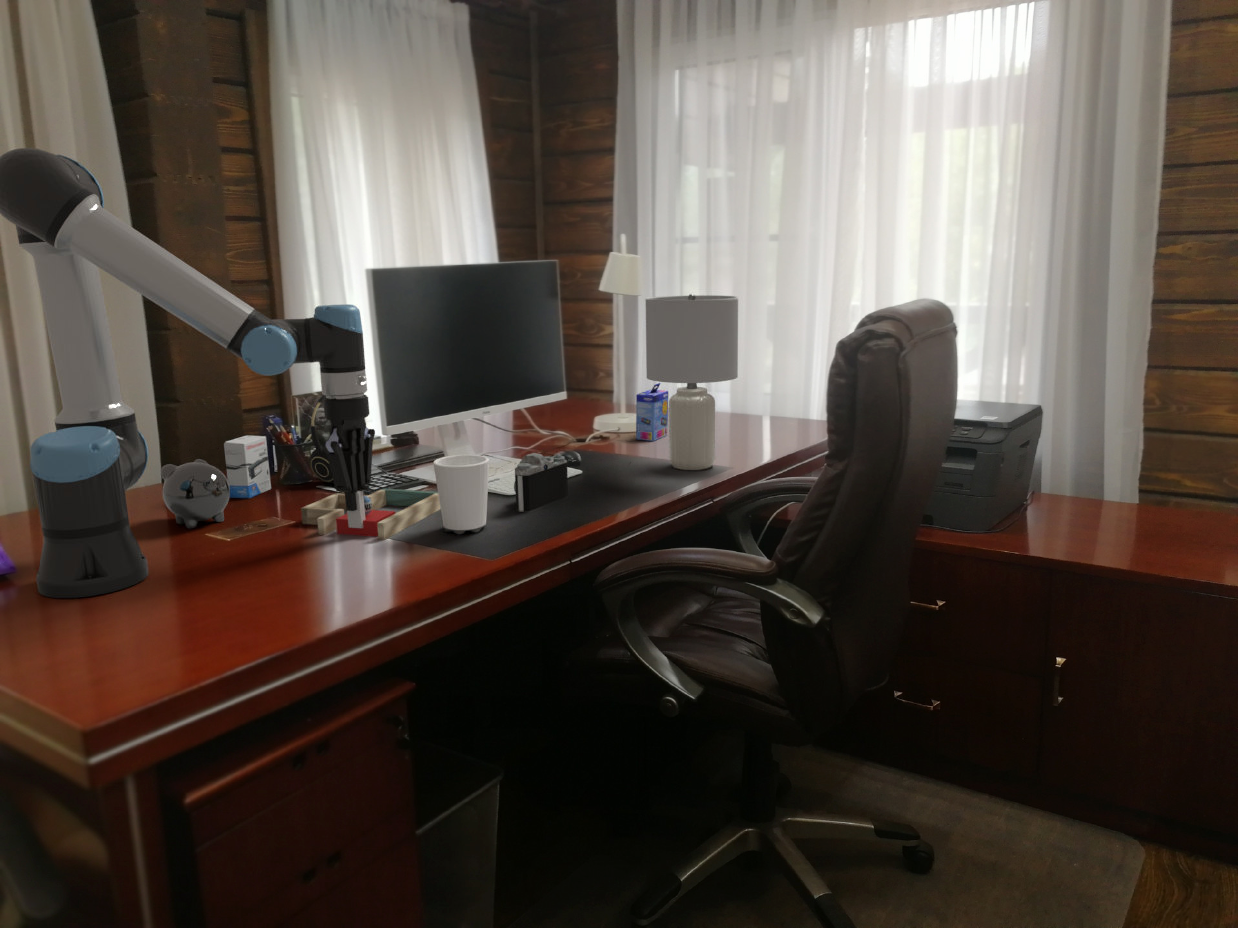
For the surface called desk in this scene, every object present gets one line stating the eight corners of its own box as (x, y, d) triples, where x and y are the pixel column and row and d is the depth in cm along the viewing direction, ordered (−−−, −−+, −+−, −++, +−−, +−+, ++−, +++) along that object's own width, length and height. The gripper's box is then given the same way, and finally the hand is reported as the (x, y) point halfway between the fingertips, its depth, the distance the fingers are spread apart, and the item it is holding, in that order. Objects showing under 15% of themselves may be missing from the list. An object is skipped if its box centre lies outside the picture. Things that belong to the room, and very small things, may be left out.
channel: (384, 539, 165) (383, 523, 165) (284, 531, 172) (282, 515, 171) (444, 507, 186) (443, 492, 185) (353, 500, 192) (352, 486, 191)
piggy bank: (210, 509, 188) (203, 452, 185) (246, 522, 178) (240, 463, 175) (152, 521, 180) (144, 462, 177) (187, 536, 170) (179, 474, 167)
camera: (545, 492, 196) (543, 445, 194) (572, 496, 193) (570, 448, 190) (500, 509, 184) (497, 458, 182) (527, 513, 180) (525, 462, 178)
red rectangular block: (396, 526, 174) (393, 492, 172) (376, 536, 167) (373, 502, 166) (358, 523, 176) (355, 490, 175) (337, 533, 170) (334, 499, 168)
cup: (432, 525, 174) (428, 457, 171) (485, 518, 177) (482, 452, 174) (442, 539, 165) (438, 468, 162) (498, 533, 168) (494, 463, 165)
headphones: (302, 486, 206) (293, 394, 201) (348, 471, 219) (340, 385, 214) (332, 489, 202) (324, 396, 198) (377, 474, 215) (370, 387, 211)
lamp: (753, 470, 211) (755, 294, 202) (670, 480, 204) (668, 297, 195) (711, 453, 229) (711, 291, 221) (634, 462, 222) (631, 294, 213)
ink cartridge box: (654, 441, 245) (654, 386, 242) (635, 440, 247) (634, 385, 244) (669, 435, 254) (668, 381, 251) (650, 433, 256) (649, 380, 253)
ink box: (249, 499, 195) (243, 443, 193) (228, 498, 196) (221, 442, 194) (272, 489, 203) (266, 435, 201) (251, 488, 204) (245, 434, 202)
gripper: (342, 401, 156) (355, 538, 161) (384, 390, 168) (395, 518, 173) (303, 400, 158) (317, 535, 163) (348, 389, 170) (359, 515, 175)
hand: (357, 526), depth 168 cm, fingers closed
